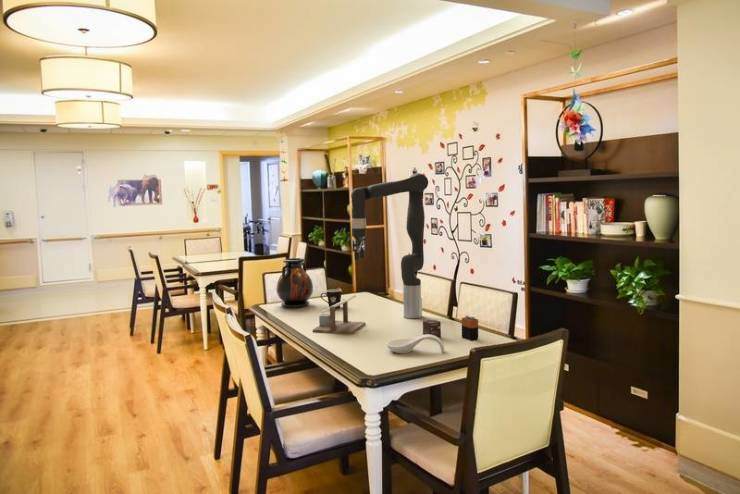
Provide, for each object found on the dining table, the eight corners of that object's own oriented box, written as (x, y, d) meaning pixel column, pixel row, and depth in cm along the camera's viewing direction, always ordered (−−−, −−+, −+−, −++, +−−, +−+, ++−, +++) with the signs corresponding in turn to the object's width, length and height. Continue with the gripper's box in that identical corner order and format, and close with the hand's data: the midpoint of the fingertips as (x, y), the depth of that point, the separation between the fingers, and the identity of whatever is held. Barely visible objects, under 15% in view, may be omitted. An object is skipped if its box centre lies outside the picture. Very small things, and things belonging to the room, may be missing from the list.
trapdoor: (356, 296, 272) (355, 294, 272) (346, 302, 259) (345, 299, 259) (332, 307, 276) (331, 305, 276) (322, 313, 263) (321, 311, 263)
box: (429, 339, 244) (429, 323, 244) (422, 336, 250) (422, 320, 249) (441, 337, 247) (441, 321, 247) (433, 334, 253) (433, 319, 252)
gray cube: (332, 314, 272) (323, 313, 273) (328, 316, 267) (319, 315, 269) (332, 324, 272) (323, 323, 274) (329, 326, 268) (319, 325, 269)
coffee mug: (344, 307, 319) (344, 290, 318) (336, 309, 312) (335, 292, 311) (328, 305, 326) (328, 288, 325) (320, 307, 318) (319, 290, 317)
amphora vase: (294, 301, 340) (293, 256, 338) (321, 304, 328) (319, 258, 325) (269, 307, 323) (267, 260, 320) (296, 311, 310) (294, 262, 308)
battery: (471, 341, 240) (471, 318, 239) (461, 337, 246) (461, 315, 245) (478, 339, 242) (478, 317, 242) (468, 336, 248) (468, 314, 247)
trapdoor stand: (365, 324, 275) (364, 299, 274) (351, 334, 256) (351, 307, 255) (328, 322, 281) (327, 298, 280) (312, 332, 262) (311, 306, 261)
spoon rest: (385, 355, 222) (385, 338, 221) (388, 347, 234) (387, 331, 233) (444, 356, 219) (444, 339, 218) (444, 348, 231) (444, 331, 230)
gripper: (361, 228, 272) (362, 260, 273) (370, 226, 285) (370, 257, 287) (347, 228, 274) (347, 260, 275) (356, 226, 287) (357, 257, 289)
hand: (359, 258), depth 281 cm, fingers open, 8 cm apart
